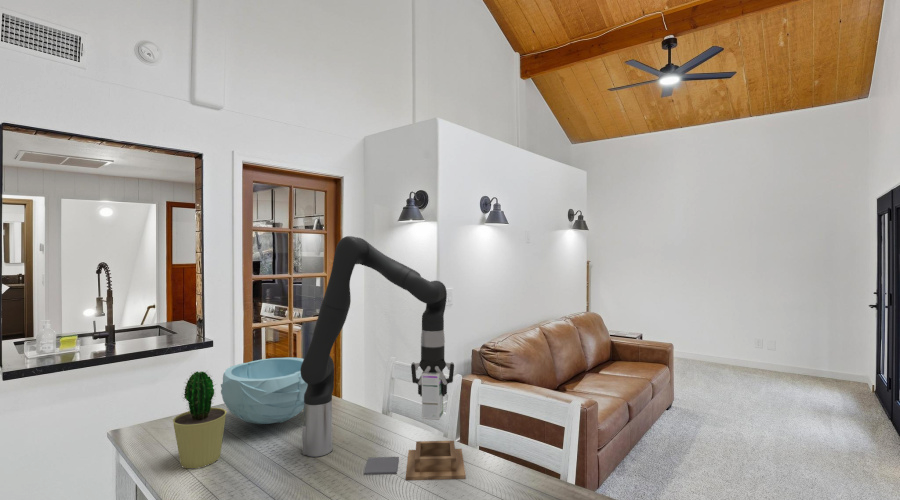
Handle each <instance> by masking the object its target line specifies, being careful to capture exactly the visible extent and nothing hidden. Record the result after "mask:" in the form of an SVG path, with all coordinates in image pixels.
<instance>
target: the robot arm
mask: <svg viewBox="0 0 900 500" xmlns="http://www.w3.org/2000/svg"><path fill="white" fill-rule="evenodd" d="M356 265H361V266H364V267H368V268H370V269H372V270H375V271H376V272H378V273H379V274H380V275H382V276H383V277H384V278H385V279H386V280H388V281H389V282H390V283H392V284H393V285H396V286H397V287H399V288H400V289H403V290H405V291H407V292H408V293H409V294H410V295H412V296H413V297H414V298H416V299H417V300H418V301H420V302H422V303H423V304H426V305H425V310H424V311H423V313H422V315H421V335H420V361H419V362H412V363H411V365H410V367H411V368H410V370H411V379H412V380H411V382H412V383H413V384H417V394H418V395H419V397H422V374H424V373H428V372H437V373H440V379H441V380H442V382H443V383H442V395H443V397H446V395H448V384H452V383H453V382H454V373H455V371H454V370H455V364H454V362H446V359H445V343H446V341H445V340H446V339H445V331H444V328H445V327H444V326H445V324H444V323H445V322H444V321H445V320H444V318H445V317H444V314H445V310H446V304H447V297H448V293H447V288H446V286H445V284H444V283H443V282H442V281H440V280H431V281H429V280H427V279H425V277H422V276H421V274H420V273H419V271H417V270H415V269H413V268H411V267H409V266H407V265H406V264H403V263H402V262H399V261H397V260H395V259H393V258H391V257H390V256H387V255H386V254H384V253H383V252H381V251H380V250H378V249H377V248H375V246H373V245H372V244H370V242H368V241H367V240H365V239H364V238H361V237H356V236H352V235H347V236H344V237H342V238H341V239H340V240H339V241H338V242H337V245H336V247H335V250H334V256H333V261H332V267H331V271H330V276H329V279H328V282H327V284H326V285H327V286H326V290H325V293H324V296H323V299H322V301H321V303H320V304H321V305H320V309H319V311H318V316H317V318H316V323H315V327H314V329H313V333H312V334H313V335H312V337H311V342H310V344H309V346H308V349H307V351H306V354H305V356H304V358H303V359H304V360H303V363H302V365H301V370H300V371H301V377H302V379H303V380H304V382H306V383H307V384H308V386H307V389H306V392H305V394H304V408H303V422H304V423H303V425H302V430H301V431H302V434H301V437H302V455H303V456H307V457H315V458H317V457H322V456H325V455H328V454H330V453H331V452H332V451H333V393H334V386H335V363H334V361H333V358H332V356H331V351H332V350H333V349H332V348H333V346H334V344H335V342H336V340H337V338H338V337H339V335H340V333H341V331H342V329H343V327H344V325H345V323H346V320H347V317H348V314H349V311H350V308H351V307H350V306H351V302H352V301H351V299H352V298H351V277H352V274H353V271H354V269H355V266H356ZM419 368H420V369H421V370H422V373H421V374H420V377H419V378H418V377H417V371H418V369H419ZM445 368H447V370H448V372H449V374H448V378H446V375H445V374H444V372H442V371H444V370H445ZM423 372H424V373H423Z"/></svg>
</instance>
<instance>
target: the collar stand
mask: <svg viewBox="0 0 900 500" xmlns="http://www.w3.org/2000/svg"><path fill="white" fill-rule="evenodd" d="M455 447H456V446H455V440H427V441H426V440H424V441H423V440H422V441H419V440H418V441H415V449H408V452H407V462H406V472H405V481H427V480H429V481H430V480H431V481H432V480H433V481H434V480H435V481H436V480H466V476H467V475H466V469H465V462H464V457H463V456H464V455H463V450H462V448H455Z"/></svg>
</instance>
